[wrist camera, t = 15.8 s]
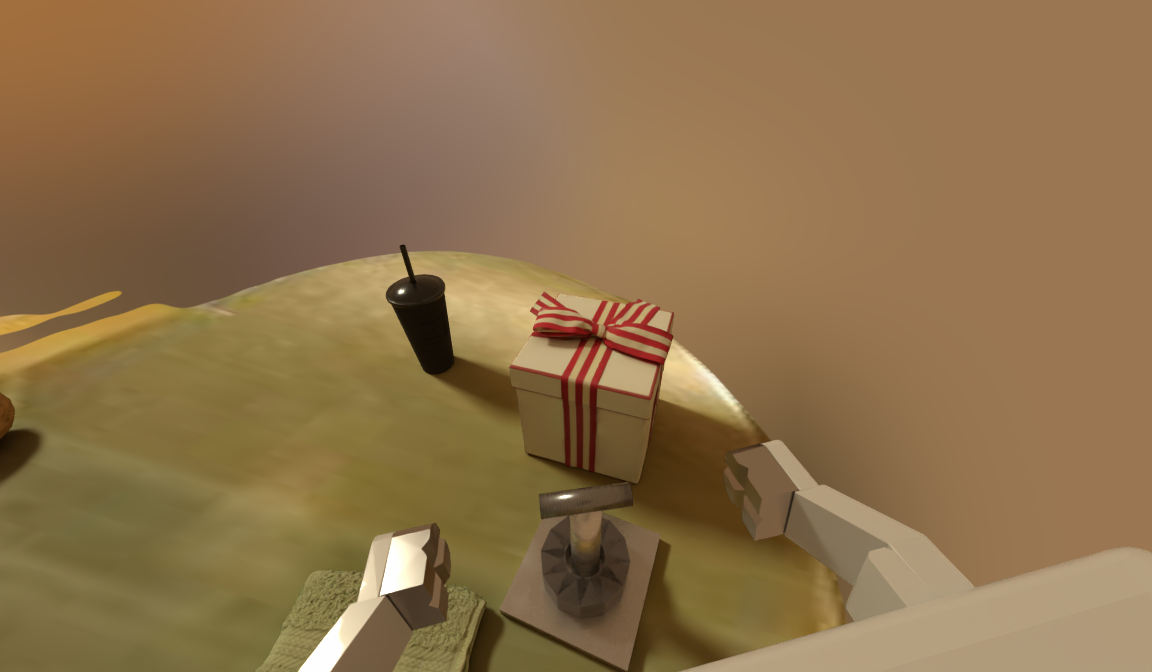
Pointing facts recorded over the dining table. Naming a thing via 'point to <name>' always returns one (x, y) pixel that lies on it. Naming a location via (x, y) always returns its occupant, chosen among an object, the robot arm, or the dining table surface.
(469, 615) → the washcloth
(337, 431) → the dining table surface
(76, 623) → the dining table surface
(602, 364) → the gift box
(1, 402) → the potato
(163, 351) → the dining table surface
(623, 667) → the chuck socket
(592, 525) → the chuck key
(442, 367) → the drinking cup
